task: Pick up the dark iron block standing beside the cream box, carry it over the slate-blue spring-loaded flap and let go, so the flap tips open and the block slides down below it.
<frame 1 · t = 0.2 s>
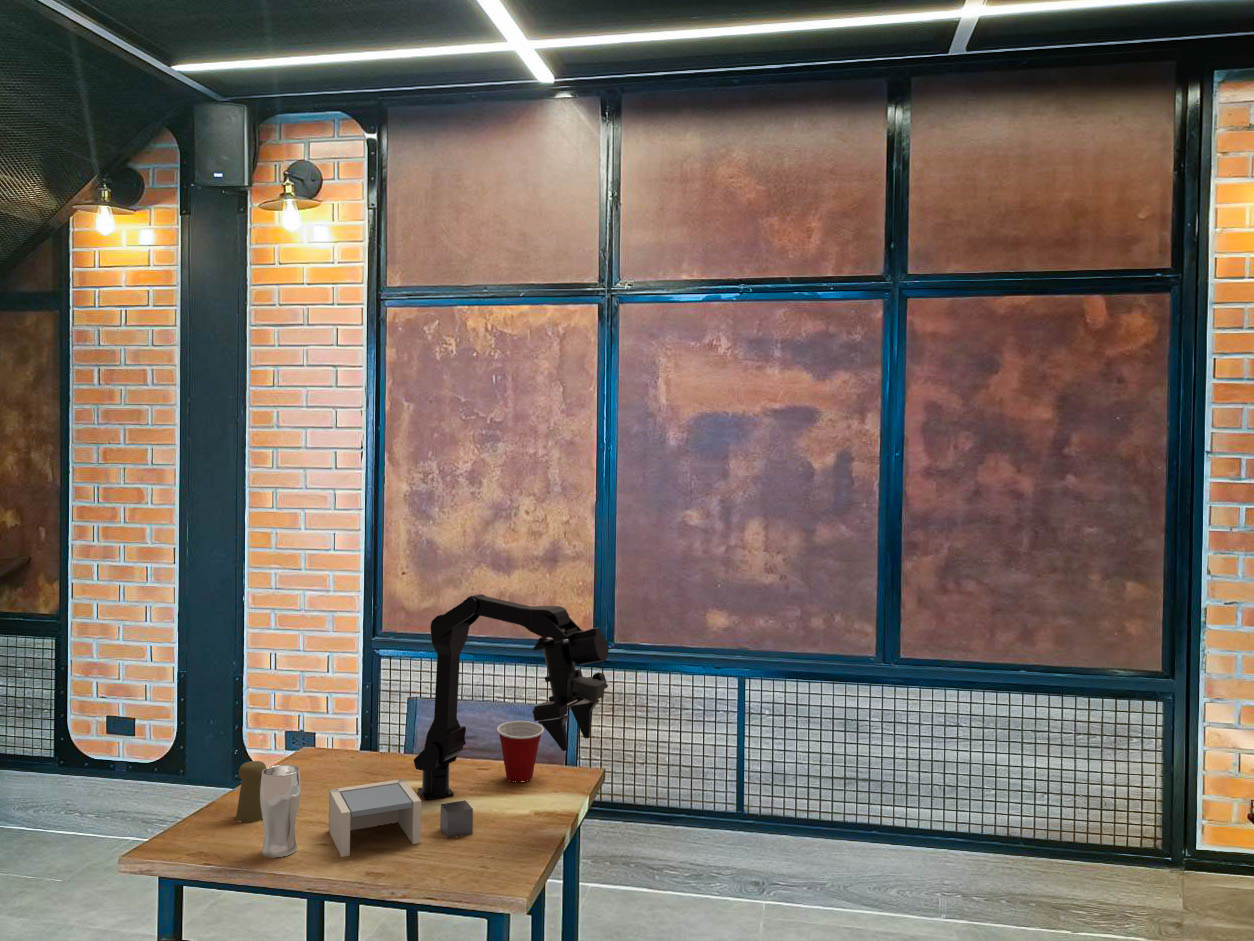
hand: (576, 744, 182), 15 cm above the table, tool pointing down, fingers open, 9 cm apart
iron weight: (456, 831, 176), on the table
beer glass: (279, 852, 165), on the table
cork: (251, 817, 181), on the table
trapdoor: (375, 799, 172), point 8 cm above the table, hinge at 0.0°
plastic cup: (519, 780, 206), on the table
white step stool: (375, 839, 171), on the table
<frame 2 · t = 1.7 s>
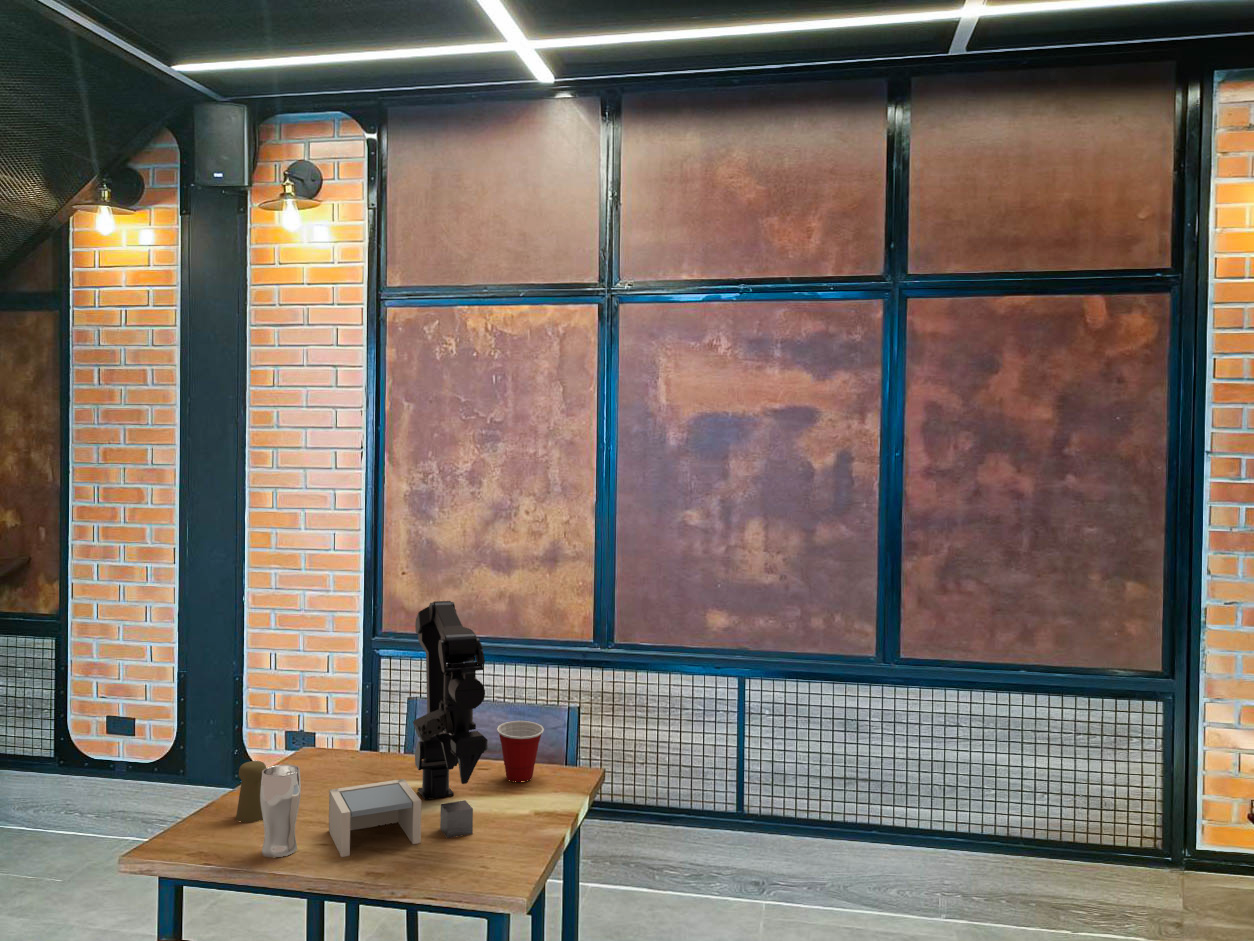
hand: (457, 776, 176), 11 cm above the table, tool pointing down, fingers open, 9 cm apart
nothing on the table moved.
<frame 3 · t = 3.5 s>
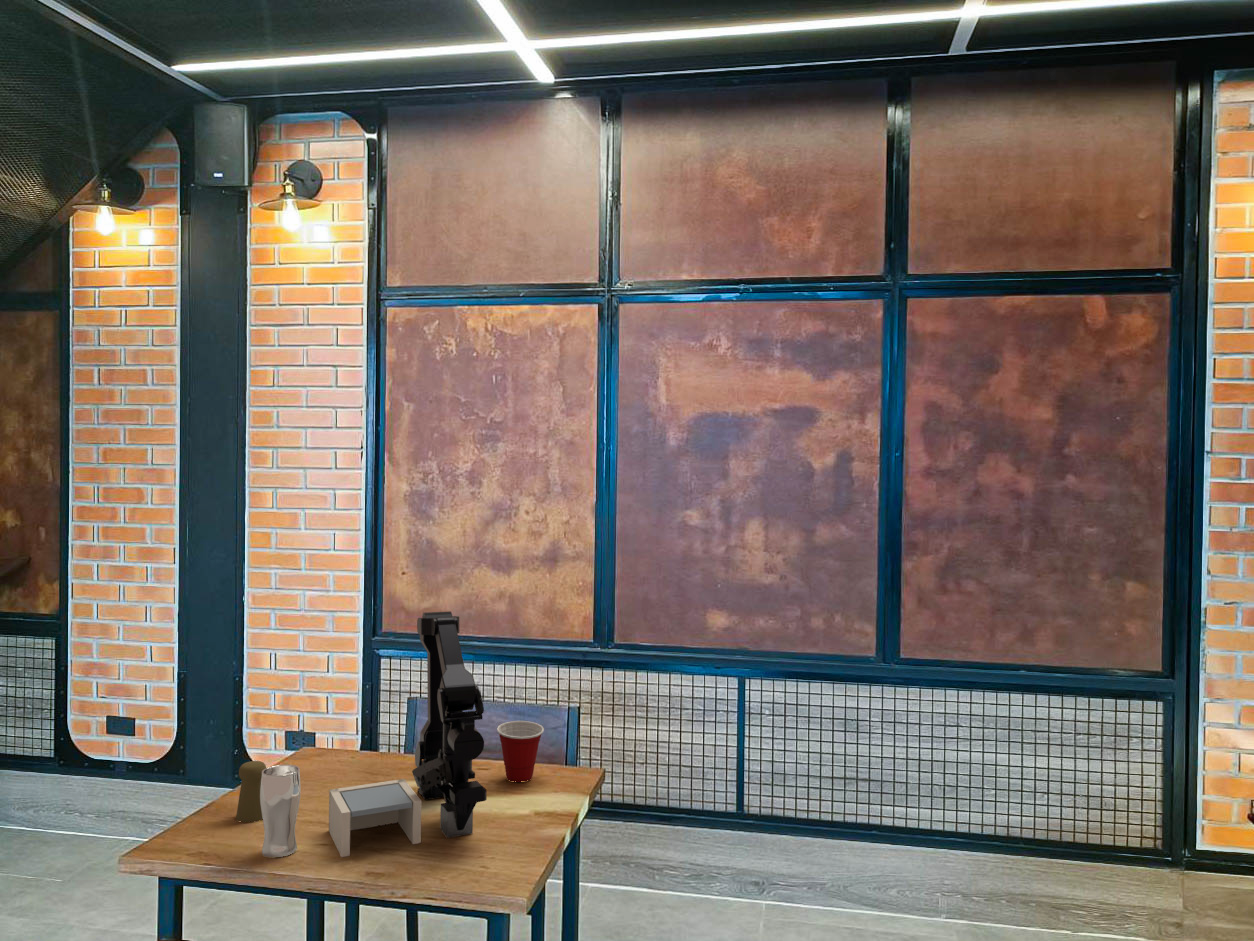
hand: (456, 825, 176), 1 cm above the table, tool pointing down, fingers closed on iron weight, 5 cm apart
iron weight: (456, 831, 176), on the table, touching gripper
everything else where it was.
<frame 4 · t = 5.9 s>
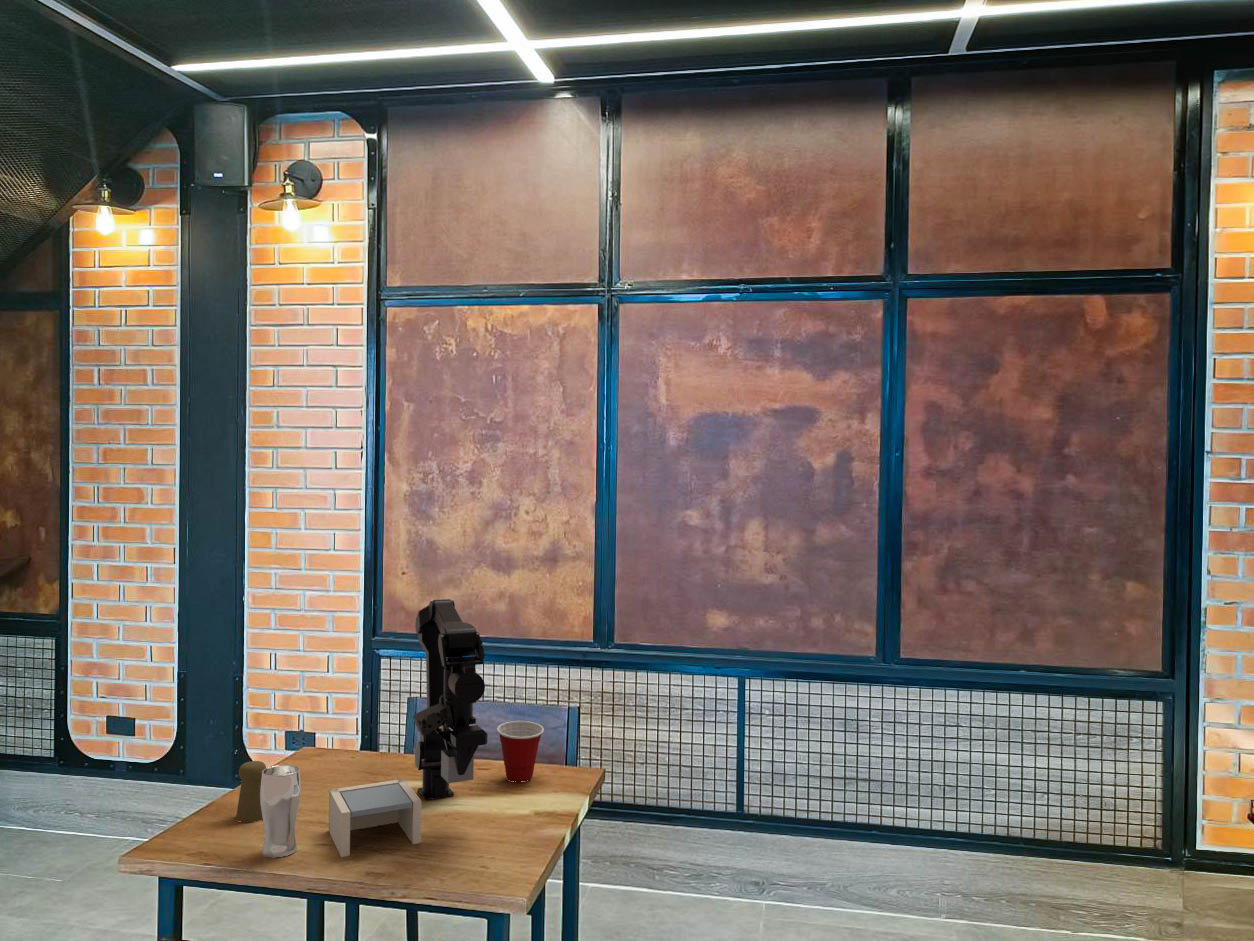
hand: (457, 770, 176), 12 cm above the table, tool pointing down, fingers closed on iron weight, 5 cm apart
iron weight: (457, 777, 176), point 11 cm above the table, touching gripper
everything else where it was.
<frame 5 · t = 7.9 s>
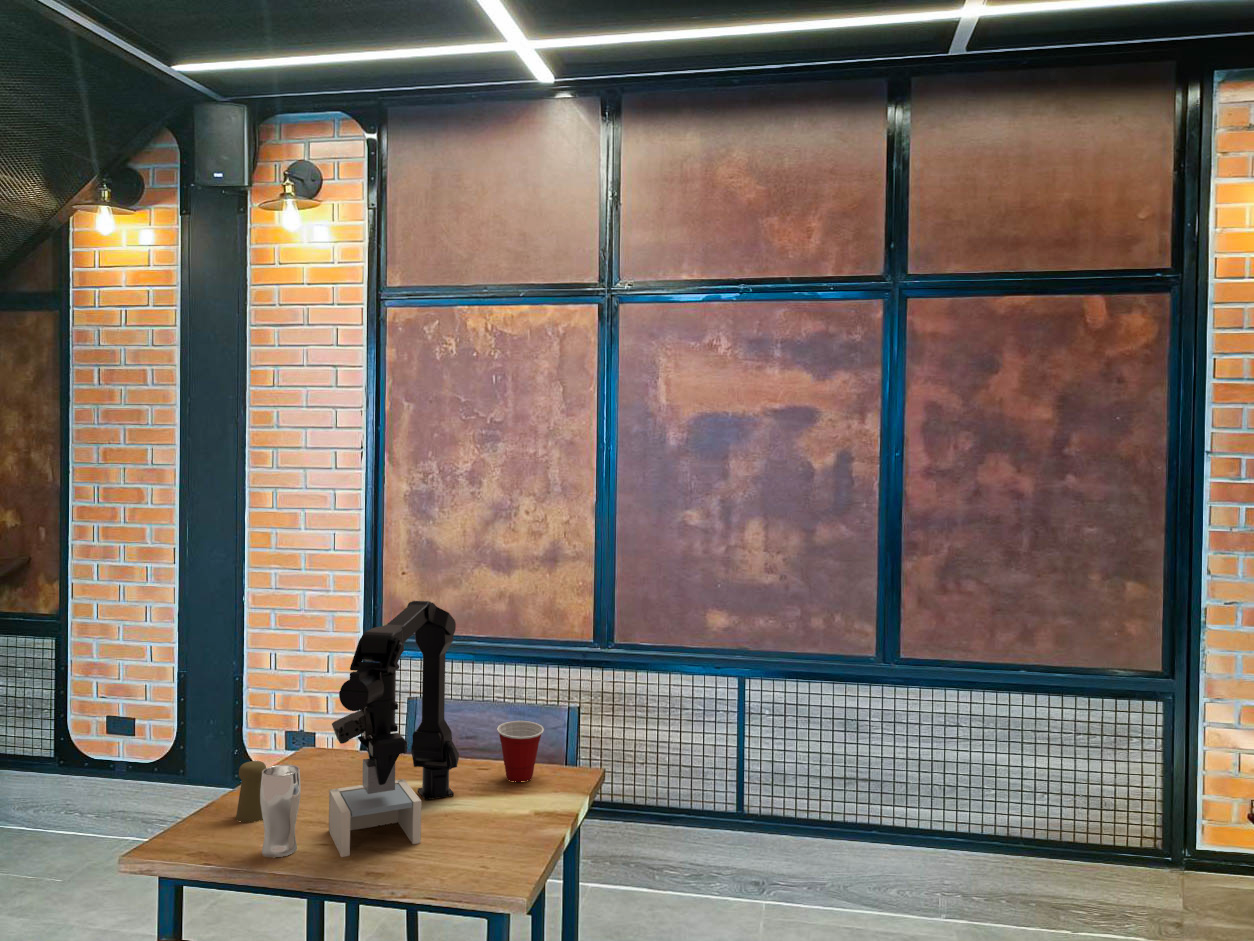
hand: (378, 779, 170), 12 cm above the table, tool pointing down, fingers closed on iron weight, 5 cm apart
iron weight: (378, 787, 170), point 10 cm above the table, touching gripper
everything else where it was.
when the fingers open (12 cm above the table, at t = 8.5 s): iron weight drops 6 cm, resting on trapdoor.
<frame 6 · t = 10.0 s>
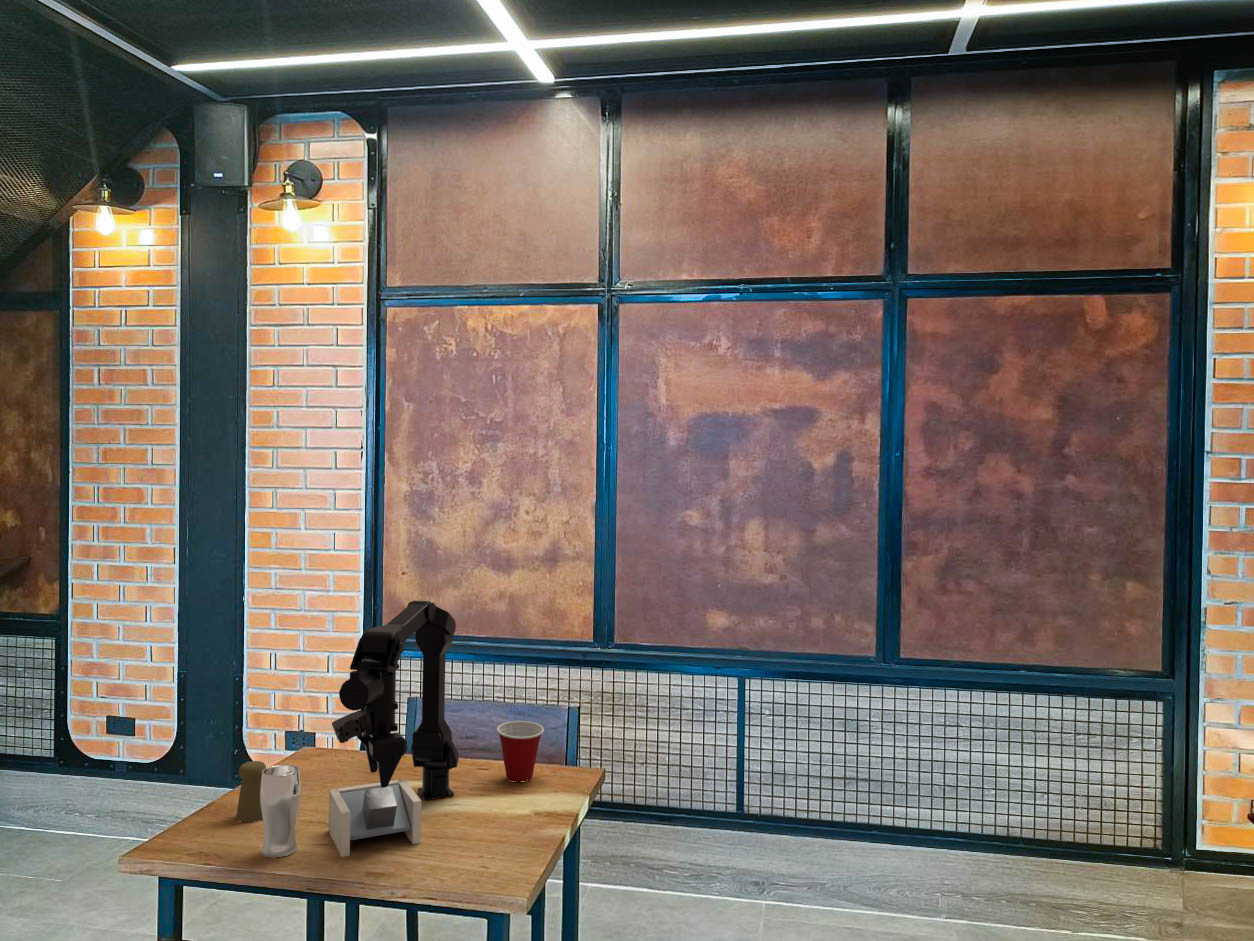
hand: (378, 779, 170), 12 cm above the table, tool pointing down, fingers open, 9 cm apart
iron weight: (377, 817, 170), point 5 cm above the table, tilted 26°, touching trapdoor
trapdoor: (374, 810, 172), point 5 cm above the table, hinge at -25.9°, touching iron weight
everything else where it was.
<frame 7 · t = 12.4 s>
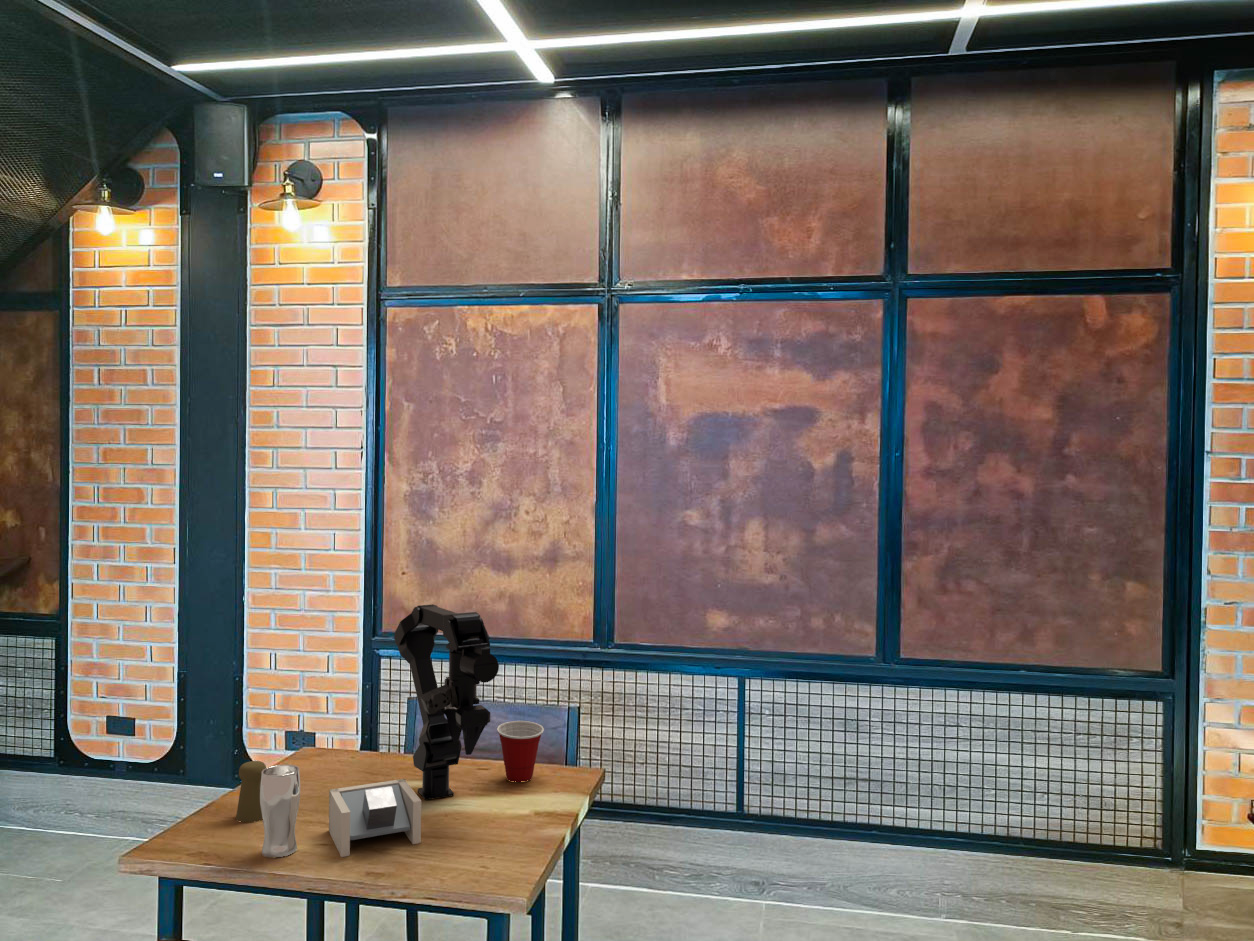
hand: (461, 748, 186), 13 cm above the table, tool pointing down, fingers open, 9 cm apart
nothing on the table moved.
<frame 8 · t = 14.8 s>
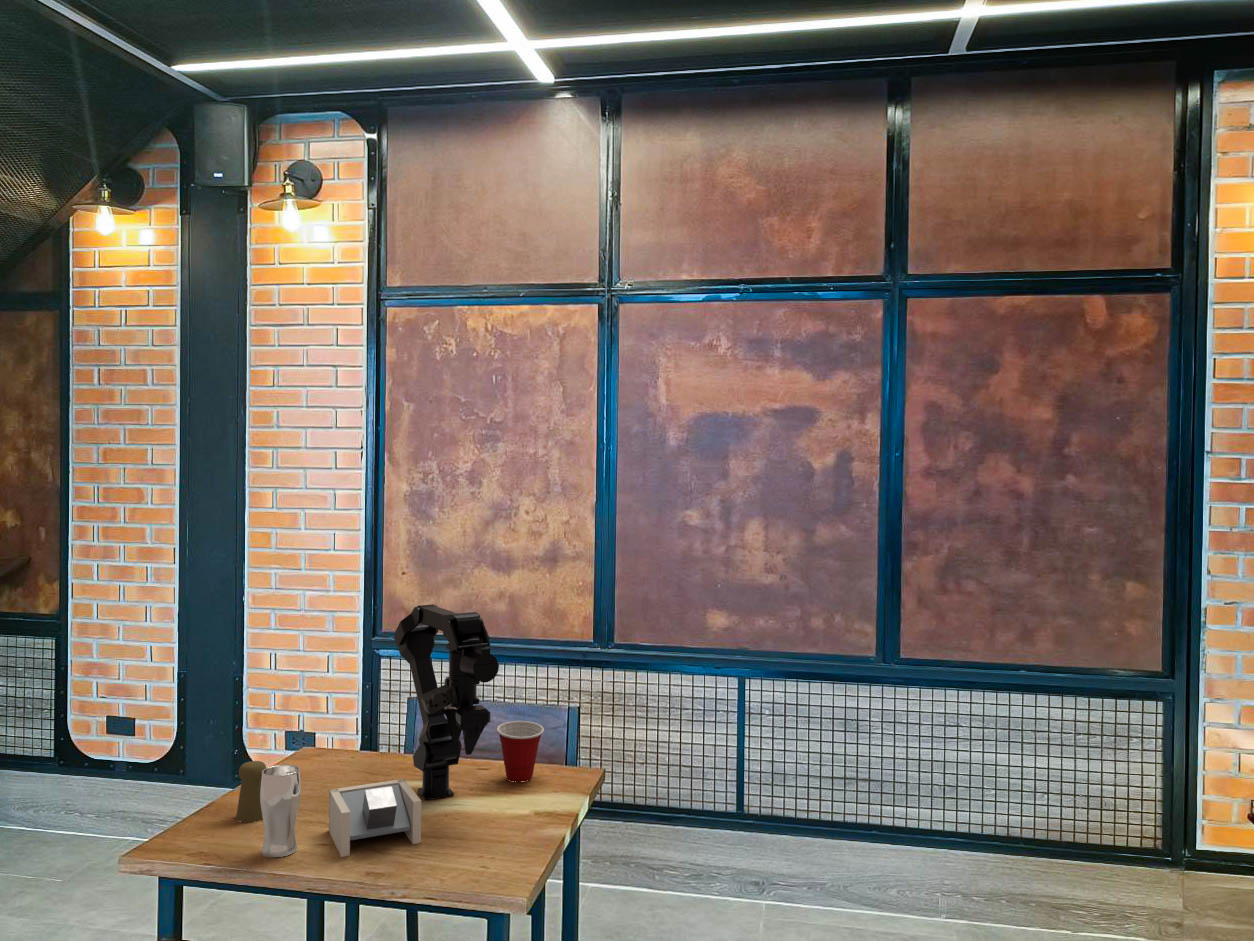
hand: (461, 748, 186), 13 cm above the table, tool pointing down, fingers open, 9 cm apart
nothing on the table moved.
at the end: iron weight inside the target area under the trapdoor (2.9 cm from its centre), point -2.9 cm above the trapdoor's base; the gripper is holding nothing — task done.
